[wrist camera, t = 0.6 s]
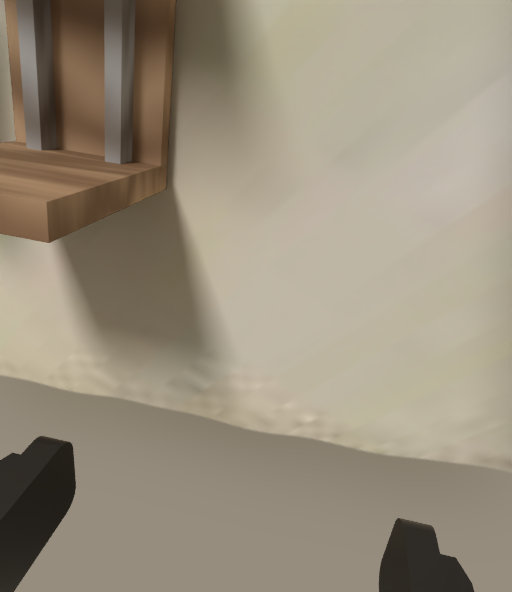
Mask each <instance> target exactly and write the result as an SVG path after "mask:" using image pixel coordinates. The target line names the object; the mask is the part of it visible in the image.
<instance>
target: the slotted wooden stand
mask: <svg viewBox="0 0 512 592" xmlns="http://www.w3.org/2000/svg"><path fill="white" fill-rule="evenodd" d="M5 11H6V24H7V36H8V48H9V61H10V73H11V85H12V97H13V110H14V122H15V134H16V141H14V142H4V143H0V234H6V235H11V236H16V237H21V238H26V239H31V240H36V241H41V242H47V243H50V242H52V241H54V240H56V239H59V238H61V237H63V236H65V235H67V234H69V233H72V232H74V231H76V230H78V229H80V228H82V227H85V226H87V225H89V224H91V223H93V222H95V221H98V220H100V219H102V218H104V217H106V216H108V215H111V214H113V213H115V212H117V211H119V210H122V209H124V208H126V207H128V206H130V205H132V204H135V203H137V202H139V201H141V200H143V199H145V198H148V197H150V196H152V195H154V194H156V193H158V192H161V191H163V190H165V189H166V182H167V163H168V144H169V125H170V106H171V88H172V69H173V50H174V31H175V12H176V0H5Z"/></svg>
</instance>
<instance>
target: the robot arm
mask: <svg viewBox="0 0 512 592" xmlns="http://www.w3.org/2000/svg"><path fill="white" fill-rule="evenodd" d="M75 489H76V482H75V468H74V455H73V446H72V444H71V443H70V442H67V441H62V440H58V439H54V438H49V437H45V436H40V437H38V438H36V439H35V440H34V441H33V442H32V443H31V444H30V445H29V446H28V448H27V449H26V450H25V451H24V452H23V453H22V454H21V455H20V454H15V453H12V454H10V455H8V456H7V457H5V458H3V459H2V460H0V592H14V591H15V589H16V588H17V586H18V585H19V583H20V582H21V580H22V579H23V577H24V576H25V574H26V573H27V571H28V570H29V568H30V567H31V565H32V564H33V562H34V561H35V559H36V558H37V556H38V555H39V553H40V552H41V550H42V549H43V547H44V546H45V544H46V543H47V542H48V540H49V538H50V537H51V536H52V534H53V533H54V531H55V530H56V528H57V527H58V525H59V524H60V522H61V521H62V519H63V518H64V516H65V515H66V513H67V511H68V509H69V508H70V506H71V503H72V501H73V498H74V494H75ZM379 592H474V589H473V586H472V583H471V581H470V580H469V578H468V576H467V575H466V573H465V572H464V570H463V568H462V567H461V565H460V564H459V562H458V561H457V559H456V558H455V557H450V556H446V555H442V554H440V552H439V548H438V543H437V538H436V534H435V531H434V528H433V527H432V526H430V525H427V524H422V523H418V522H414V521H409V520H405V519H400V518H398V519H397V520H396V521H395V524H394V527H393V530H392V533H391V536H390V538H389V541H388V544H387V547H386V550H385V552H384V555H383V558H382V561H381V566H380V574H379Z"/></svg>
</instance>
